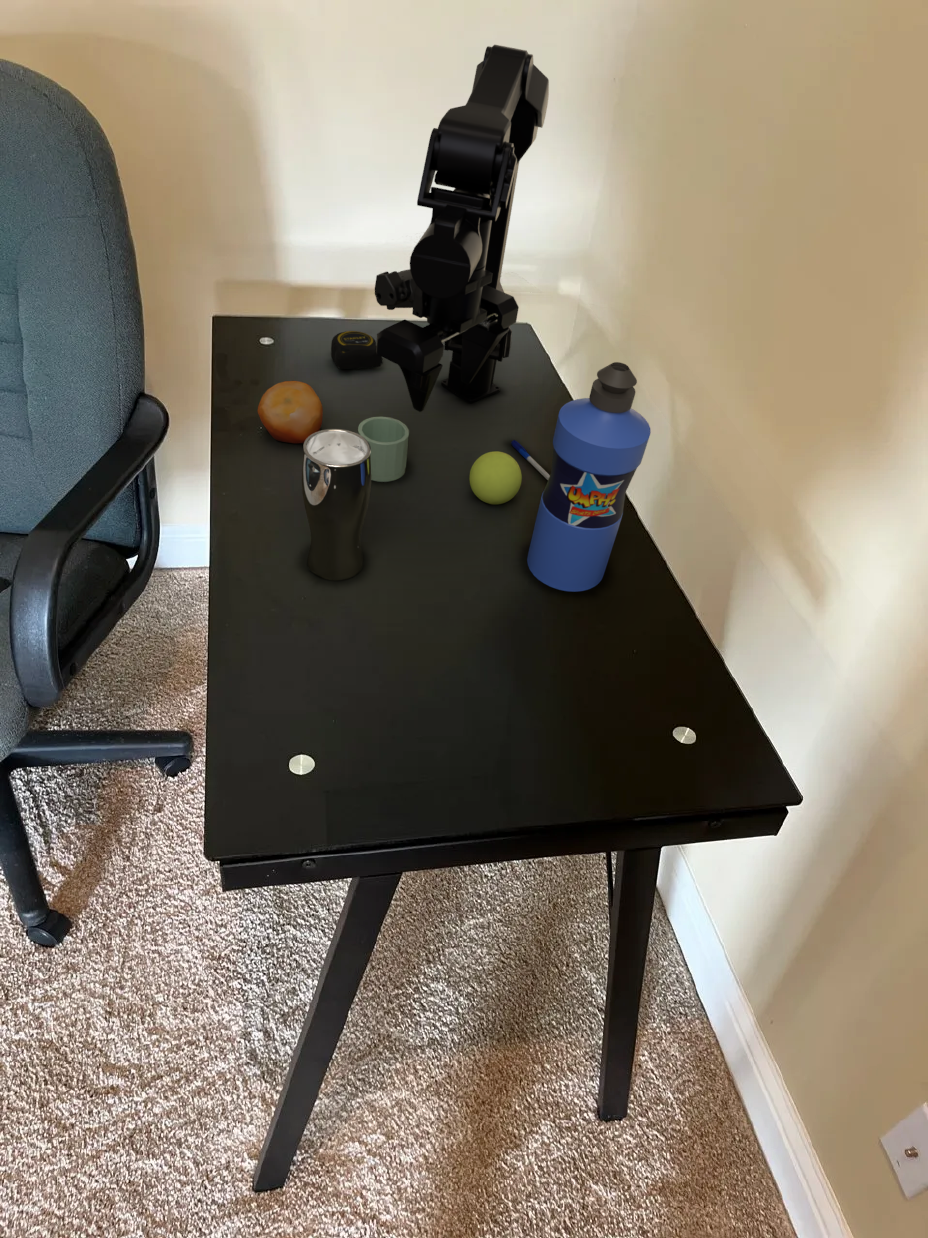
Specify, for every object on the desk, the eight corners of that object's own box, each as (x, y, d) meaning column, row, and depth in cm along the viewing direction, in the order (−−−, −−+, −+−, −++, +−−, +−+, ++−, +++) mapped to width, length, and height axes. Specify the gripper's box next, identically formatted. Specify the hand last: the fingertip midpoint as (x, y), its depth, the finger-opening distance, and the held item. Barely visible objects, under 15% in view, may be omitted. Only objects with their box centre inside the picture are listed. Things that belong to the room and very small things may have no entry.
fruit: (333, 408, 111) (326, 376, 103) (321, 461, 109) (312, 433, 101) (274, 398, 111) (262, 365, 103) (260, 451, 109) (247, 422, 101)
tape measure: (336, 376, 120) (336, 352, 117) (326, 353, 124) (326, 329, 122) (382, 373, 122) (383, 350, 119) (370, 351, 126) (371, 328, 124)
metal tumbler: (315, 589, 88) (315, 472, 77) (294, 549, 92) (291, 433, 81) (376, 575, 90) (384, 460, 80) (353, 537, 95) (357, 422, 84)
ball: (491, 478, 106) (498, 435, 102) (527, 502, 103) (536, 460, 99) (455, 495, 103) (461, 451, 98) (492, 521, 100) (500, 477, 95)
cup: (384, 448, 108) (386, 411, 104) (415, 471, 105) (419, 433, 102) (346, 463, 105) (347, 426, 101) (378, 487, 102) (380, 449, 98)
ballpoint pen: (508, 445, 113) (509, 438, 112) (513, 443, 113) (515, 437, 112) (553, 487, 107) (555, 481, 106) (559, 486, 107) (560, 479, 106)
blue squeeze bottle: (525, 534, 99) (569, 337, 81) (602, 544, 99) (662, 350, 82) (525, 586, 92) (573, 384, 75) (607, 597, 93) (674, 398, 75)
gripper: (449, 215, 93) (435, 345, 104) (337, 255, 82) (335, 396, 93) (531, 248, 90) (508, 378, 100) (426, 294, 78) (413, 437, 89)
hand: (442, 395), depth 96 cm, fingers open, 9 cm apart
